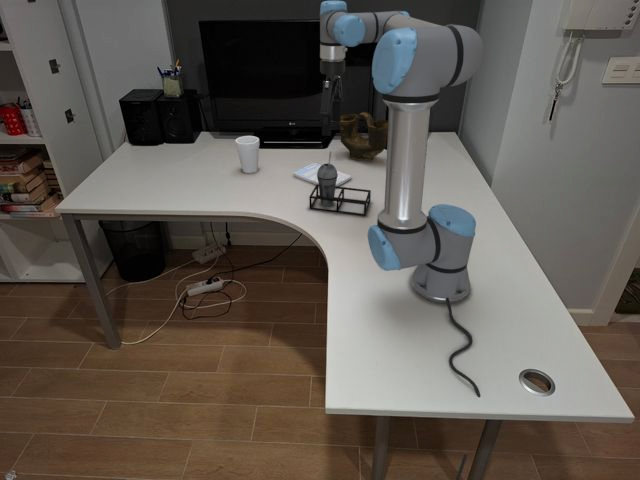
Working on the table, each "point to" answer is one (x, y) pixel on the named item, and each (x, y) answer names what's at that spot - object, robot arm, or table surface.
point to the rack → (341, 200)
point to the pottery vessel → (359, 144)
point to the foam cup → (248, 153)
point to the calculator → (311, 174)
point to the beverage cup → (327, 182)
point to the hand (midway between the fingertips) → (331, 128)
